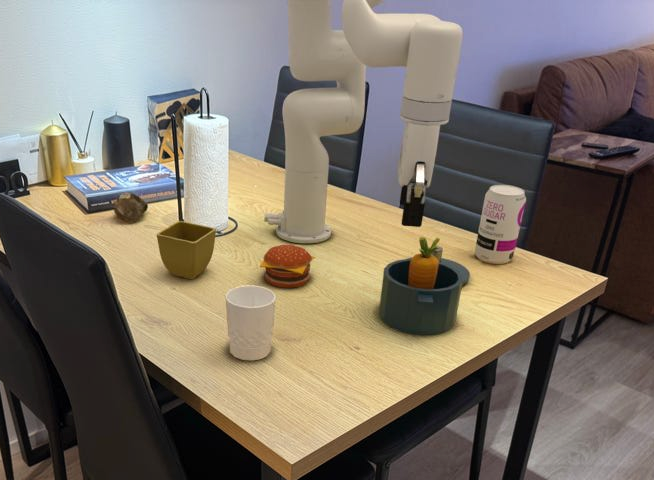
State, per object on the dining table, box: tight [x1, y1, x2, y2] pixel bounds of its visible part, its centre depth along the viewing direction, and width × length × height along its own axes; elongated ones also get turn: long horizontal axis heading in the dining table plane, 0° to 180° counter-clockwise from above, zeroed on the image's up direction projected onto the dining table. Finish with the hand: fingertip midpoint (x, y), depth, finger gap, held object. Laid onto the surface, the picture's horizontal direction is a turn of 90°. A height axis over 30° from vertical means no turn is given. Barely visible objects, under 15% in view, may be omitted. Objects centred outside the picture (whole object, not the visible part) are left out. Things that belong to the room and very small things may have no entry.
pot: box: [378, 255, 464, 336], centre depth 123 cm, size 14×19×8 cm
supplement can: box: [473, 184, 527, 265], centre depth 146 cm, size 8×8×15 cm
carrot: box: [408, 236, 441, 289], centre depth 121 cm, size 5×5×15 cm
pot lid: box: [406, 245, 471, 286], centre depth 139 cm, size 15×15×6 cm
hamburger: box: [259, 244, 316, 289], centre depth 136 cm, size 9×10×7 cm
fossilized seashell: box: [113, 192, 149, 222], centre depth 164 cm, size 8×7×10 cm
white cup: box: [225, 284, 277, 362], centre depth 111 cm, size 8×8×10 cm
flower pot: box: [156, 220, 217, 280], centre depth 136 cm, size 9×9×9 cm
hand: (409, 214), depth 116 cm, fingers open, 9 cm apart
